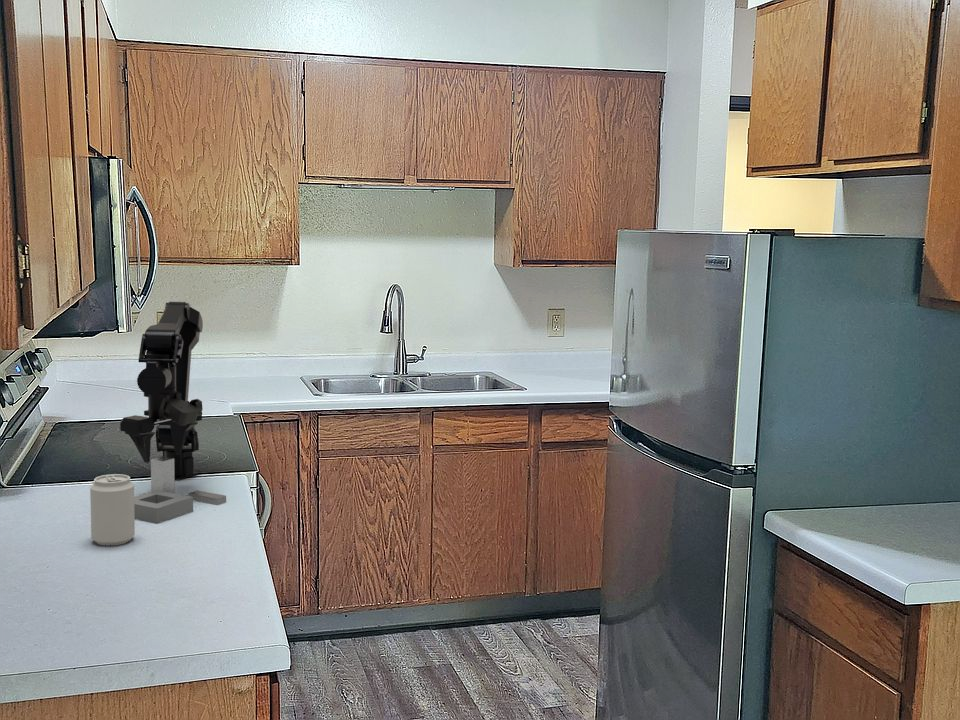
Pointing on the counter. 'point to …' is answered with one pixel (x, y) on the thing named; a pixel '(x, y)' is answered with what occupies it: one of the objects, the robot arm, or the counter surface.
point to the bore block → (161, 506)
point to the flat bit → (207, 497)
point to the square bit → (162, 474)
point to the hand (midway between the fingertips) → (162, 458)
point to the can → (112, 509)
